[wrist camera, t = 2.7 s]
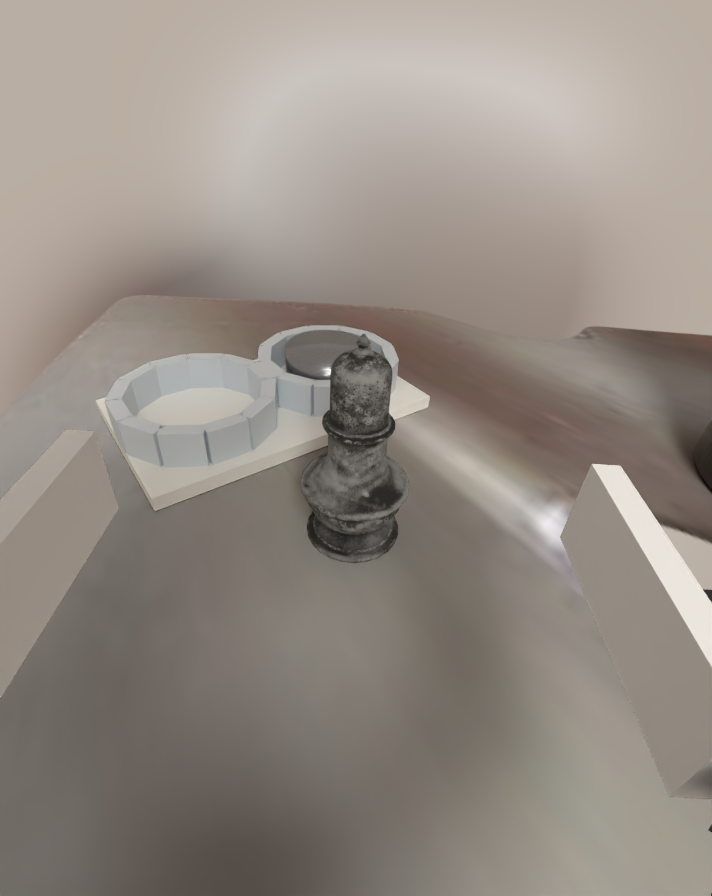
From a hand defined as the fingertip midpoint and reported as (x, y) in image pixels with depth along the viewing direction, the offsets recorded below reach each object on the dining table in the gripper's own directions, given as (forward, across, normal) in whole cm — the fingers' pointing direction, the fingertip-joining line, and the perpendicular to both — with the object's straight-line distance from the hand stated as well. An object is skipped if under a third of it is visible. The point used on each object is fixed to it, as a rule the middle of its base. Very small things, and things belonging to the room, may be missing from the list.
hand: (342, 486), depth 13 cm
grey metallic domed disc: (+26, -2, -12) cm, 28 cm away
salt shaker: (+10, 0, -12) cm, 16 cm away
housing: (+22, -6, -12) cm, 26 cm away
